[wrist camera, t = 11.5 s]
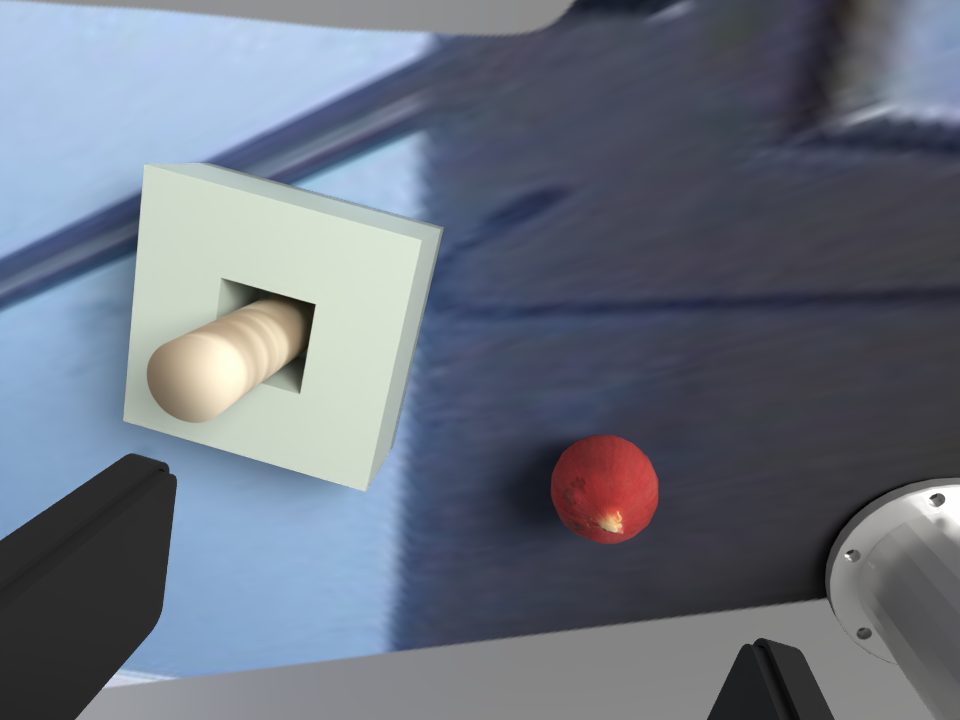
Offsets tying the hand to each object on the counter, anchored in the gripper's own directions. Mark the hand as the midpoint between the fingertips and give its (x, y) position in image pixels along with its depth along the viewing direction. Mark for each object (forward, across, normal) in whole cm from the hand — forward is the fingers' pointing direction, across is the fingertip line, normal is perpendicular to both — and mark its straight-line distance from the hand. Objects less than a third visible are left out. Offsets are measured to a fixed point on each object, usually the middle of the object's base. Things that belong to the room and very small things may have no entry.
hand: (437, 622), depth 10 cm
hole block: (+28, +12, +5) cm, 31 cm away
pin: (+27, +12, +5) cm, 30 cm away
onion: (+28, -7, +9) cm, 31 cm away
